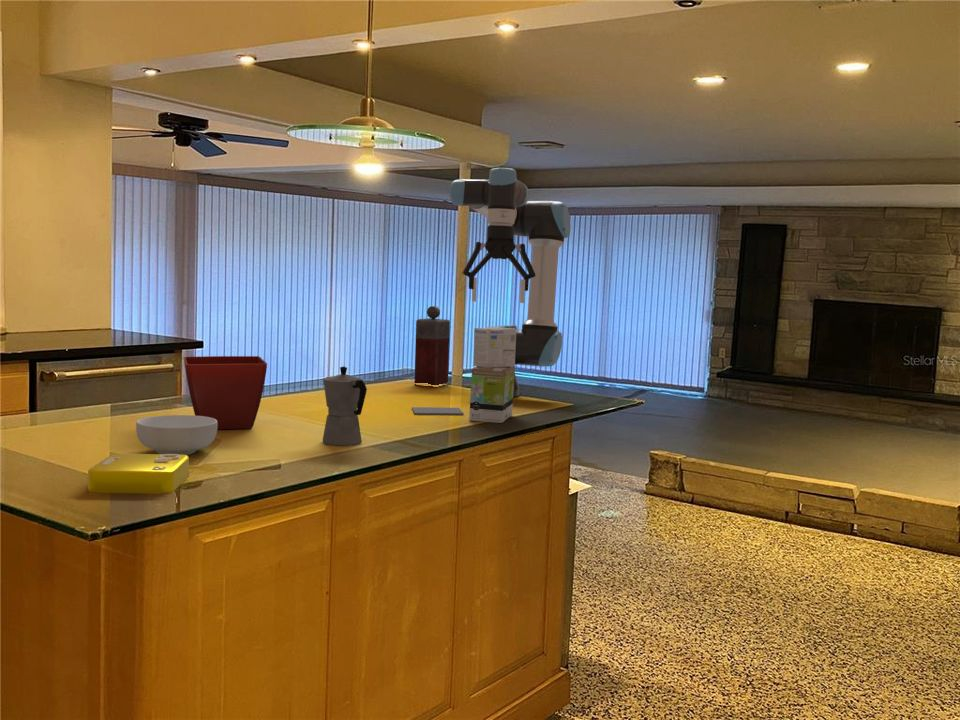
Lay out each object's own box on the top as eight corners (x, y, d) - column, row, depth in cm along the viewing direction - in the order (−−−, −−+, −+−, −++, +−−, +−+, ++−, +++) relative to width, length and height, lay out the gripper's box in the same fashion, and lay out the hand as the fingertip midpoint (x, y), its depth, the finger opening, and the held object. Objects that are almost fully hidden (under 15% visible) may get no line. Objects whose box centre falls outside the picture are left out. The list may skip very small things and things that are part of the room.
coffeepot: (309, 439, 209) (310, 364, 207) (342, 435, 215) (344, 362, 214) (346, 451, 198) (348, 371, 196) (380, 446, 204) (382, 369, 202)
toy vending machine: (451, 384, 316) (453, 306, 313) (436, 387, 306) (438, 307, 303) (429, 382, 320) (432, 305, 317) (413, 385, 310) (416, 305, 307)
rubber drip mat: (411, 408, 259) (411, 407, 259) (458, 409, 261) (458, 407, 261) (414, 414, 249) (414, 412, 249) (463, 415, 252) (463, 413, 251)
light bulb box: (499, 364, 253) (500, 326, 252) (515, 366, 248) (517, 328, 247) (471, 365, 246) (473, 327, 245) (488, 368, 241) (490, 329, 240)
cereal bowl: (217, 459, 185) (217, 426, 185) (132, 462, 181) (132, 428, 180) (217, 443, 201) (217, 413, 201) (139, 445, 197) (139, 414, 196)
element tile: (112, 474, 171) (112, 450, 170) (191, 476, 172) (191, 452, 172) (84, 495, 156) (84, 468, 156) (171, 496, 157) (171, 469, 157)
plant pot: (183, 419, 229) (183, 355, 227) (258, 418, 236) (259, 355, 234) (185, 433, 211) (185, 364, 209) (267, 431, 218) (267, 363, 216)
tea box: (504, 423, 240) (506, 370, 238) (468, 421, 242) (470, 368, 240) (513, 415, 255) (515, 364, 253) (479, 412, 257) (481, 362, 255)
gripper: (458, 222, 238) (455, 301, 240) (548, 226, 242) (544, 303, 244) (454, 223, 245) (451, 300, 247) (541, 227, 249) (538, 302, 251)
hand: (498, 302), depth 246 cm, fingers open, 13 cm apart
